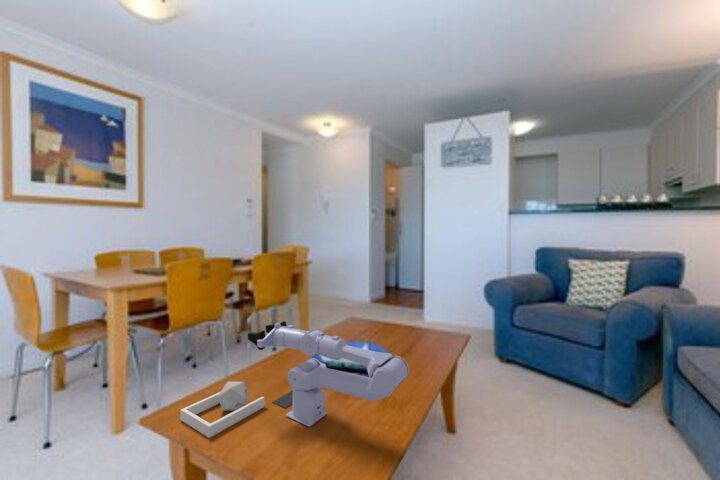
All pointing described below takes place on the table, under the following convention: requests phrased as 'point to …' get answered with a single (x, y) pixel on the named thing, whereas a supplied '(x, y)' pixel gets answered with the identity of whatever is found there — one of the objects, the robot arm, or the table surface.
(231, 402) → the die
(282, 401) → the hole mat
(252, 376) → the table surface
